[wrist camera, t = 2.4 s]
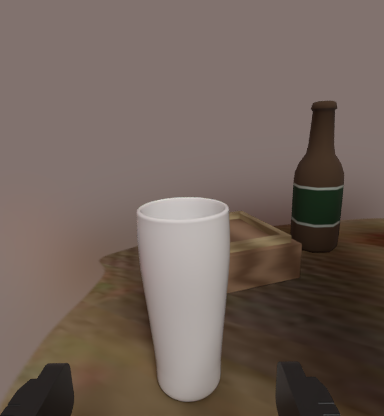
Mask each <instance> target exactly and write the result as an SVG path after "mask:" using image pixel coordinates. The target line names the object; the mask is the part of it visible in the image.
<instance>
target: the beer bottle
mask: <svg viewBox="0 0 384 416" xmlns="http://www.w3.org/2000/svg"><path fill="white" fill-rule="evenodd" d="M311 109H312V111H313V115H312V123H311V130H310V138H309V144H308V148H307V153H306V155H305V156H304V157H303V158H302V160H301V161H300V162H299V164H298V167H297V169H296V171H295V177H294V183H293V184H294V185H293V200H292V217H291V239H293V240H295V241H297V242H299V243H301V244H302V250H305V251H309V252H330V251H331V250H333V249H334V248H335V247H336V246H337V242H338V236H339V226H340V216H341V207H342V197H343V187H344V172H343V168H342V165H341V163H340V161H339V159H338V158H337V156H336V155H335V149H334V121H335V109H337V104H336V102H334V101H319V102H315V103H313V105H312V108H311Z"/></svg>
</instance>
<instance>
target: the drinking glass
mask: <svg viewBox="0 0 384 416" xmlns="http://www.w3.org/2000/svg"><path fill="white" fill-rule="evenodd" d="M137 236H138V237H137V238H138V252H139V262H140V269H141V276H142V282H143V287H144V293H145V299H146V305H147V310H148V316H149V322H150V328H151V334H152V339H153V346H154V352H155V358H156V369H157V379H158V382H159V385H160V387H161V389H162V390H163V391H164V392H165V393H166V394H167V395H168V396H169V397H171V398H173V399H175V400H178V401H183V402H193V401H198V400H201V399H203V398H205V397H207V396H209V395H210V394H211V393H212V392H213V391H214V390H215V389H216V387H217V385H218V383H219V381H220V376H221V350H222V338H223V328H224V317H225V307H226V297H227V287H228V276H229V264H230V220H229V207H228V206H227V205H226V204H225V203H223V202H221V201H218V200H214V199H208V198H196V197H180V198H169V199H162V200H156V201H153V202H149V203H146V204H144V205H143V206H141V207H139V208H138V210H137Z"/></svg>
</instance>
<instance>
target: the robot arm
mask: <svg viewBox="0 0 384 416" xmlns="http://www.w3.org/2000/svg"><path fill="white" fill-rule="evenodd" d="M73 404H74V391H73V384H72V377H71V370H70V365H69V364H68V363H49V364H47V365H46V366H45V367H44V369H43V370H42V372H41V373H40V375H39V376H38V378H37V379H30V380H29V381H28V382H27V383H25V384H24V385H23V386H22V387H21V388H20V389H18V390H17V392H16V393H15V395H14V396H13V398H12V399H11V400H10V402H9V403H8V406H7V407H6V408H5V409H4V411H3V412H2V413H1V415H0V416H70V415H71V413H72V409H73ZM276 405H277V411H278V415H279V416H340V413H339V411H338V409H337V407H336V405H334V401H333V399H332V397H331V395H330V394H329V392H328V390H327V388H326V387H325V386H324V385H323V384H322V383H321V382H320V381H319V380H318V379H317V378H316V377H306V376H305V373H304V371H303V369H302V367H301V365H300V363H299V362H278V364H277V379H276Z"/></svg>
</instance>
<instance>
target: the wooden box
mask: <svg viewBox="0 0 384 416" xmlns="http://www.w3.org/2000/svg"><path fill="white" fill-rule="evenodd" d="M229 220H230V264H229V276H228V287H227V293H232V292H236V291H241V290H245V289H250V288H254V287H259V286H264V285H268V284H273V283H277V282H282V281H286V280H291V279H295V278H300V266H301V251H302V244H301V243H299V242H297V241H295V240H293V239H291V235H289V234H287V233H285V232H283V231H281V230H279V229H277V228H275V227H273V226H271V225H269V224H267V223H265V222H263V221H261V220H259V219H257V218H255V217H253V216H251V215H249V214H247V213H245V212H243V211H238V212H229Z"/></svg>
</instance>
